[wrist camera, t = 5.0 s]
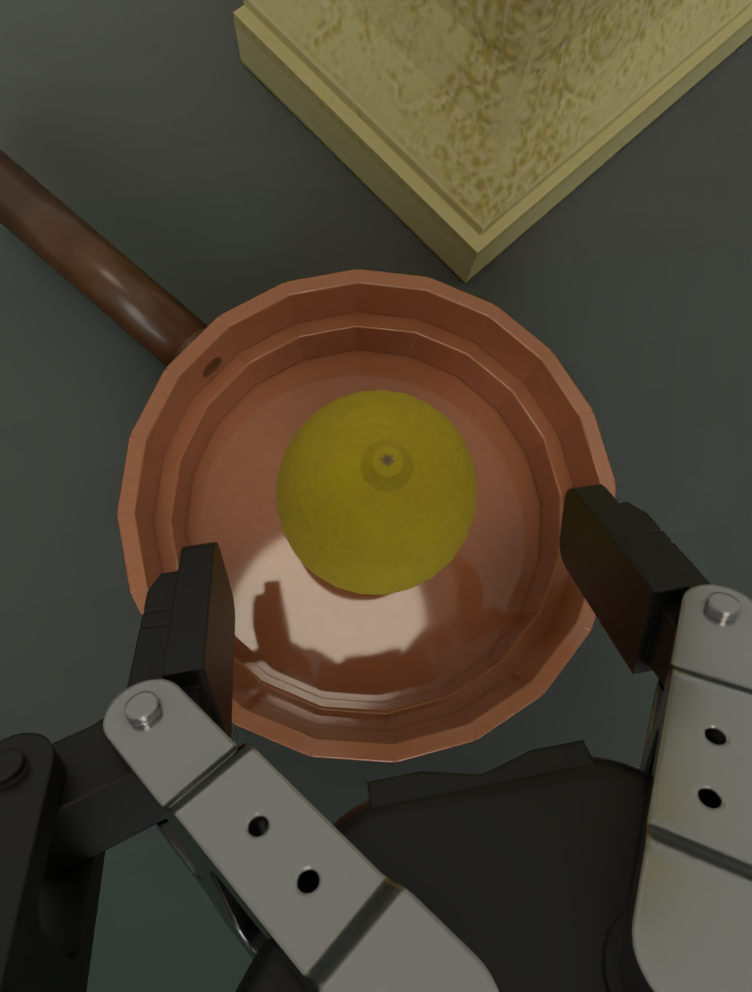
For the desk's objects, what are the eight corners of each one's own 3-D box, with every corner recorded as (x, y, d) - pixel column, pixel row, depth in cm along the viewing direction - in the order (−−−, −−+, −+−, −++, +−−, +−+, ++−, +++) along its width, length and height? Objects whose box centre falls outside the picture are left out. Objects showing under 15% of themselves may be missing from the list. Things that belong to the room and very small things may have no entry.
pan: (69, 538, 21) (8, 520, 17) (347, 257, 23) (350, 185, 19) (390, 827, 20) (404, 881, 16) (642, 500, 22) (708, 476, 18)
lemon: (452, 449, 22) (519, 357, 14) (440, 606, 21) (505, 602, 13) (297, 431, 22) (276, 328, 14) (277, 589, 21) (242, 575, 13)
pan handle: (-41, 191, 21) (-75, 152, 19) (0, 158, 21) (-30, 116, 19) (200, 399, 20) (187, 379, 18) (238, 361, 20) (229, 337, 18)
